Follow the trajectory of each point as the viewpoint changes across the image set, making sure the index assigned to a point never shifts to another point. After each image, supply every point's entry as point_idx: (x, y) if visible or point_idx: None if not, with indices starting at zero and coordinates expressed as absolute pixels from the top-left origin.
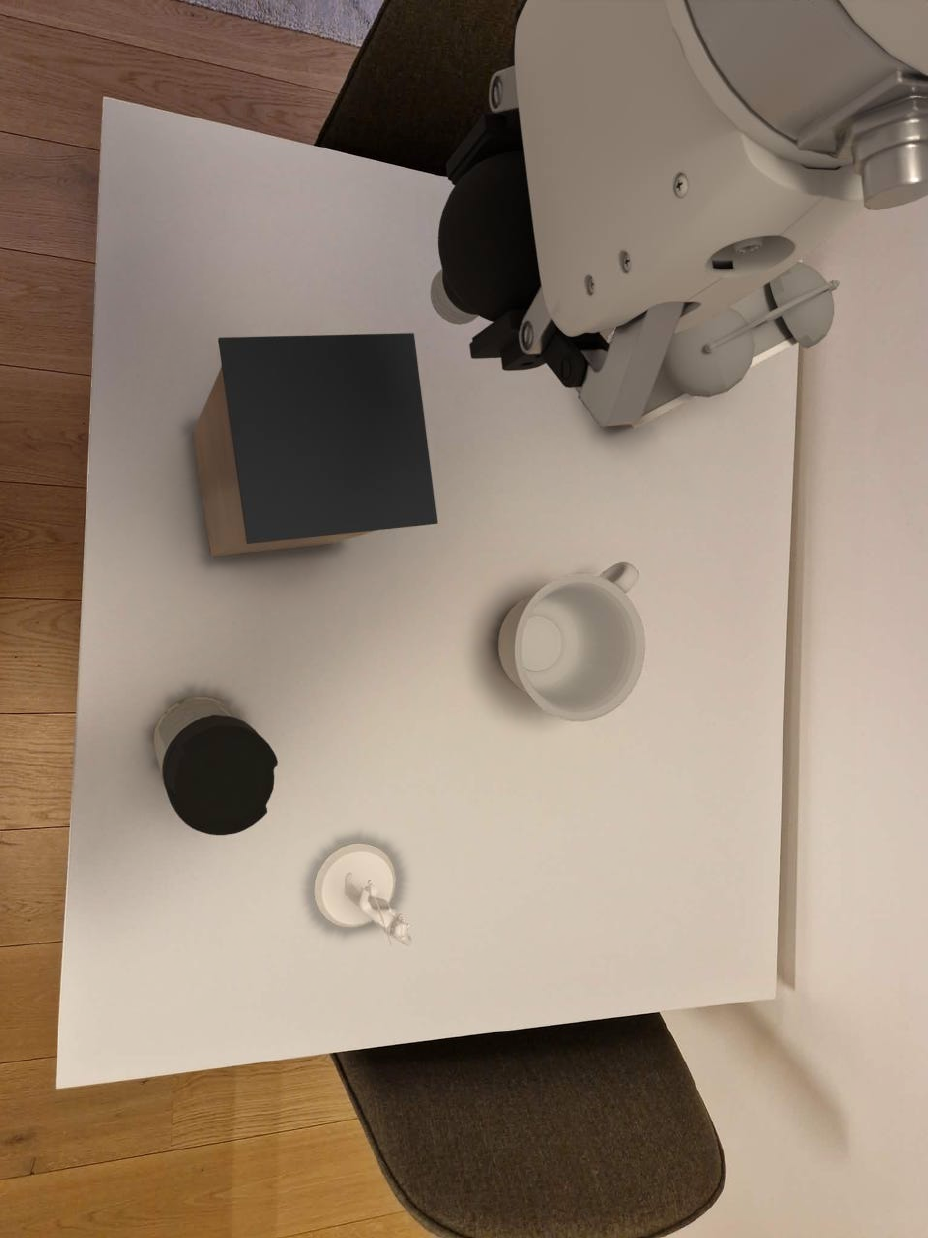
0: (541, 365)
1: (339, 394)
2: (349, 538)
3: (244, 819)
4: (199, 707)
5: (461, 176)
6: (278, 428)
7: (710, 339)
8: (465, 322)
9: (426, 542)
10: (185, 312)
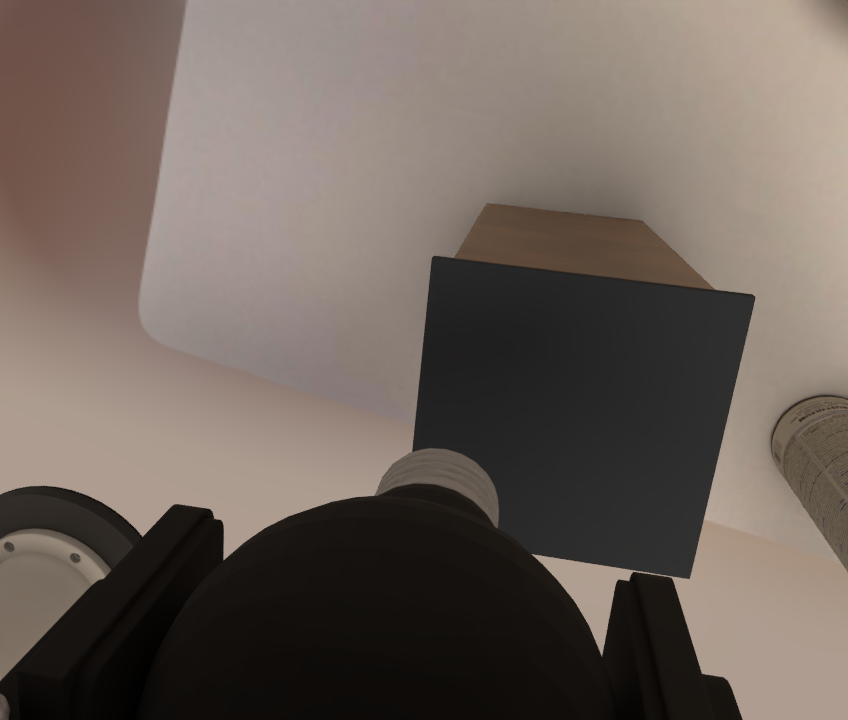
0: (731, 689)
1: (508, 400)
2: (656, 234)
3: None
4: (813, 494)
5: None
6: (539, 496)
7: None
8: (498, 514)
9: (681, 84)
10: (338, 322)
